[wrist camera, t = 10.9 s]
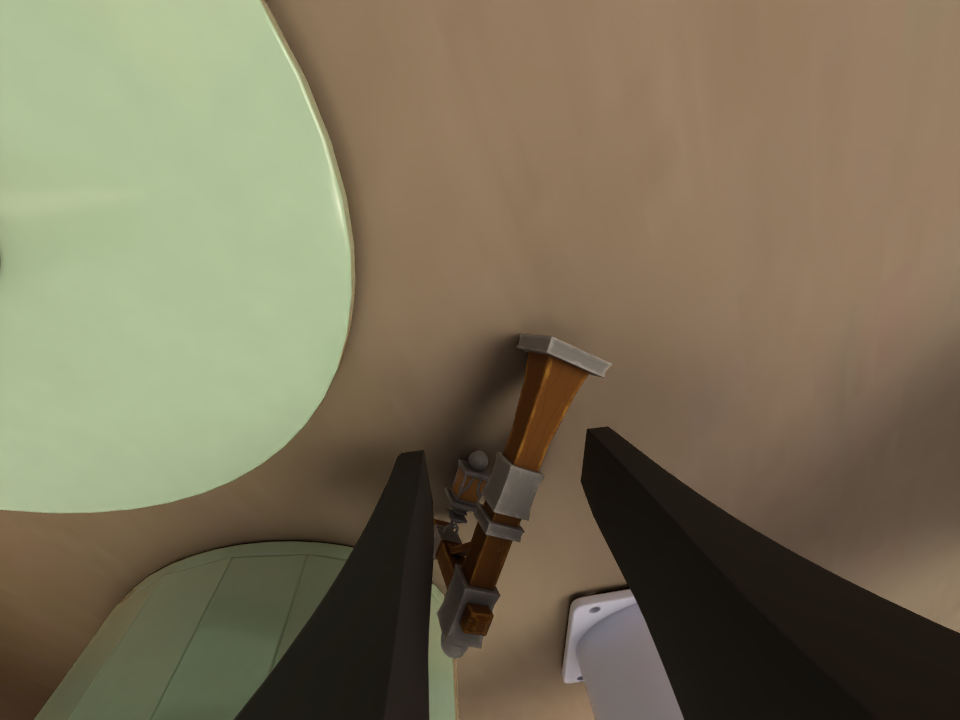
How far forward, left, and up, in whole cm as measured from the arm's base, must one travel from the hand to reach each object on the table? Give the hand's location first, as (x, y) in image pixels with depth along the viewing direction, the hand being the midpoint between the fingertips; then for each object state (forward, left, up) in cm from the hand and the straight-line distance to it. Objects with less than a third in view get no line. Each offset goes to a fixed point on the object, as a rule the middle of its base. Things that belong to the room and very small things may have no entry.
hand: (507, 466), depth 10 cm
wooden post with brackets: (0, 0, -2) cm, 2 cm away
